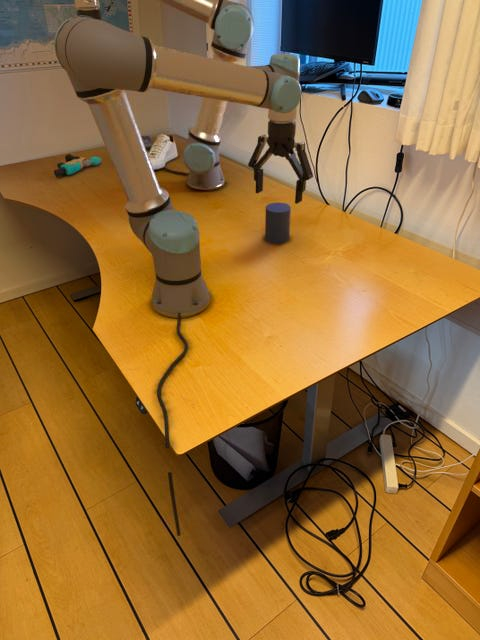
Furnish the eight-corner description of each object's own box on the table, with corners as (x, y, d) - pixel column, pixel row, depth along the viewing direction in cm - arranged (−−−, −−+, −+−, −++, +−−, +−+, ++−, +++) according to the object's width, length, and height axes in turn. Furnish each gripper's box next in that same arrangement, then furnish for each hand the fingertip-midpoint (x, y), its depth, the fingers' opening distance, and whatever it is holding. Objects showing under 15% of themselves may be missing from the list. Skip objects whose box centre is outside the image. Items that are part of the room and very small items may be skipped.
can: (292, 236, 156) (294, 205, 150) (282, 246, 151) (284, 214, 145) (271, 231, 160) (272, 200, 153) (260, 241, 154) (261, 209, 148)
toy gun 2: (175, 143, 244) (165, 152, 232) (140, 141, 247) (129, 150, 235) (174, 135, 242) (164, 144, 230) (139, 134, 245) (128, 142, 233)
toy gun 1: (34, 165, 203) (60, 171, 198) (76, 150, 222) (101, 154, 216) (36, 176, 206) (62, 181, 200) (78, 159, 225) (103, 164, 219)
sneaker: (133, 173, 208) (129, 144, 201) (161, 153, 230) (158, 127, 223) (155, 175, 205) (151, 146, 198) (180, 155, 227) (178, 129, 220)
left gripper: (330, 124, 123) (322, 202, 136) (251, 111, 135) (250, 184, 148) (316, 130, 119) (309, 210, 131) (236, 116, 130) (236, 191, 143)
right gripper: (49, 11, 143) (65, 88, 155) (130, 8, 152) (139, 81, 164) (45, 10, 148) (61, 84, 161) (123, 7, 157) (132, 78, 170)
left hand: (278, 197), depth 139 cm, fingers open, 13 cm apart
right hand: (100, 83), depth 162 cm, fingers open, 13 cm apart
